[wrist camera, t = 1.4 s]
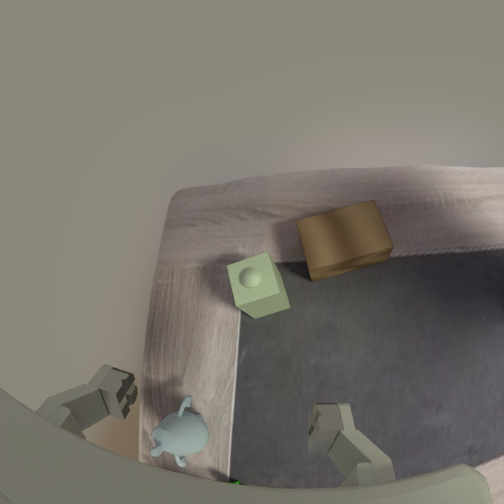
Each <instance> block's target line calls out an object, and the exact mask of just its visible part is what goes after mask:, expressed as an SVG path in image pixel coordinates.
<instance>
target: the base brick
mask: <svg viewBox="0 0 504 504" xmlns="http://www.w3.org/2000/svg"><path fill="white" fill-rule="evenodd" d="M296 225H297V228H298V232H299V236H300V239H301V243H302V247H303V250H304V254H305V258H306V262H307V266H308V269H309V273H310V277H311V281H312V282H313V281H317V280H321V279H324V278H328V277H332V276H335V275H339V274H342V273H346V272H349V271H353V270H356V269H360V268H363V267H367V266H370V265H373V264H377V263H380V262H383V261H387V260H388V258H389V255H390V253H391V251H392V249H393V247H394V246H393V244H392V241H391V239H390V236H389V233H388V231H387V229H386V226H385V224H384V221H383V219H382V217H381V214H380V212H379V210H378V207H377V205H376V203H375V201H374V200H371V201H367V202H363V203H359V204H356V205H352V206H348V207H344V208H341V209H337V210H333V211H329V212H326V213H322V214H318V215H315V216H311V217H307V218H304V219H300V220H296Z"/></svg>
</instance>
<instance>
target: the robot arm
mask: <svg viewBox="0 0 504 504" xmlns="http://www.w3.org/2000/svg"><path fill="white" fill-rule="evenodd" d="M134 380H135V378H134V374H132V373H129V372H126V371H123V370H120V369H117V368H114V367H111V366H108V365H104V366H102V367H101V369H100V370H99V371H98V372H97V373H96V375H95V376H94V377H93V379H92V380H91V381H90V382H89V384H88V385H87V384H83V385H81V386H78V387H75V388H72V389H70V390H67V391H64V392H62V393H59V394H56V395H53V396H50V397H48V398H47V399H46V400H45V402H44V403H43V404H42V405H41V406H40V407H39V409H38V410H37V411H36V412H34V411H33V410H31V409H30V408H28V407H27V406H25V405H24V404H22V403H21V402H19V401H18V400H17V399H15V398H14V397H12V396H11V395H10V394H8V393H7V392H6V391H4V390H3V389H2V388H0V504H494V503H493V499H492V495H491V492H490V489H489V485H488V483H487V480H486V478H485V477H484V476H483V474H481V473H480V472H478V471H477V470H475V469H473V468H472V467H470V466H468V465H466V464H465V463H459V464H455V465H452V466H449V467H446V468H442V469H439V470H436V471H432V472H428V473H425V474H421V475H417V476H412V477H408V478H403V479H399V480H396V478H395V474H394V470H393V466H392V462H391V459H390V458H389V457H388V456H387V455H386V454H384V453H383V452H382V451H381V450H380V449H379V448H378V447H377V446H375V445H374V444H373V443H372V442H371V441H370V440H369V439H368V438H366V437H365V436H364V435H363V434H362V433H361V432H360V431H359V430H355V426H354V422H353V417H352V413H351V408H350V405H349V403H315V404H314V406H313V413H312V414H310V417H309V422H308V434H309V435H310V438H309V441H308V444H309V452H310V453H327V454H328V455H329V456H330V458H331V459H332V460H333V462H334V463H335V464H336V465H337V467H338V468H339V469H340V471H341V472H342V473H343V474H344V476H345V477H346V479H345V481H344V482H343V483H342V484H341V485H340V486H339V487H338V488H318V489H290V488H269V487H257V486H247V485H239V484H232V483H225V482H219V481H213V480H208V479H203V478H198V477H193V476H189V475H185V474H181V473H177V472H173V471H169V470H165V469H162V468H158V467H155V466H152V465H149V464H146V463H142V462H139V461H137V460H134V459H131V458H128V457H125V456H122V455H120V454H117V453H115V452H112V451H110V450H108V449H105V448H103V447H101V446H98V445H96V444H94V443H92V442H89V441H87V440H86V438H85V436H84V435H83V433H82V431H83V430H85V429H87V428H88V427H90V426H92V425H93V424H95V423H97V422H99V421H100V420H102V419H104V418H105V417H107V416H109V415H112V416H115V417H118V418H121V419H125V418H126V416H127V414H128V413H129V411H130V409H129V406H130V405H132V404H134V402H135V400H136V397H137V386H136V385H135V384H134V383H133V382H134Z"/></svg>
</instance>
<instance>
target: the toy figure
mask: <svg viewBox="0 0 504 504" xmlns="http://www.w3.org/2000/svg"><path fill="white" fill-rule="evenodd" d="M192 400H193V398H192V396H190V395H188V396H186V397H185V398H184V399H183V401H182V403H181V406H180V408H179V411H177V412H173V413H171V414H169V415H168V416H166V417H165V418H163V419H162V420H161V422H160V423H159V425H158V426H157V427H156V428H154V429H153V431H152V434H151V436H152V437H153V438H154V441H155V443H156V445H157V446H155V447H153V448H152V449H151V452H150V454H151V456H153V457H158V456H159V455H160V454H161V453H162V452H163V451H165V452H168V453H170V454H174V457H175V460H176V463H177V464H178V466H180V467H185V466H186V465H187V462H186V461H185V459H186V457H184V456H183V457H181V458H179V455H192V454H195V453H198V452H199V451H201V450H202V449H203V448H204V447H205V446H206V444H207V442H208V439H209V431H208V427H207V425H206V423H205V420H204V418H203V416H202V415H200V414H194V413H192V412H189V411H184V409H185V407H190V406H191V405H190V402H191V401H192Z"/></svg>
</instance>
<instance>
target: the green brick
mask: <svg viewBox="0 0 504 504" xmlns="http://www.w3.org/2000/svg"><path fill="white" fill-rule="evenodd" d="M227 269H228V274H229V278H230V283H231V287H232V291H233V296H234V300H235V304H236V307H238V308H239V309H241V310H242V311H244V312H245V313H247V314H249V315H250V316H252V317H253V318H259V317H262V316H265V315H268V314H272V313H275V312H278V311H281V310H284V309H287V308H290V304H289V301H288V298H287V294H286V291H285V288H284V284H283V281H282V278H281V275H280V272H279V271H278V269H277V267H276V265H275V264H274V262H273V260H272V258H271V257H270V255H269V253H268V252H265V253H262V254H259V255H257V256H254V257H251V258H248V259H245V260H242V261H239V262H236V263H233V264H231V265H228V266H227Z"/></svg>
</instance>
